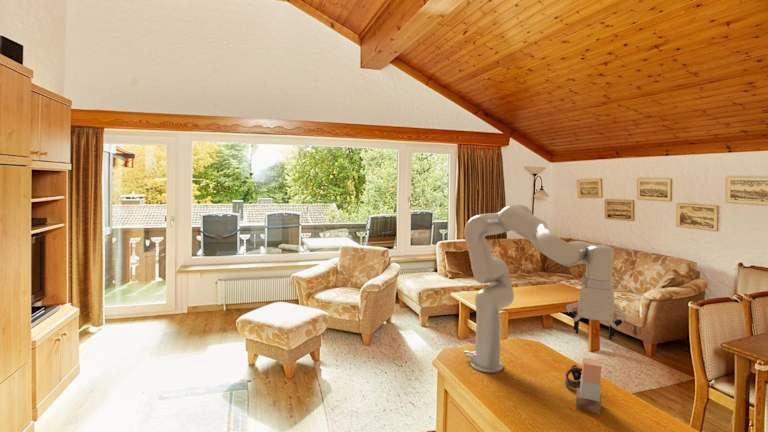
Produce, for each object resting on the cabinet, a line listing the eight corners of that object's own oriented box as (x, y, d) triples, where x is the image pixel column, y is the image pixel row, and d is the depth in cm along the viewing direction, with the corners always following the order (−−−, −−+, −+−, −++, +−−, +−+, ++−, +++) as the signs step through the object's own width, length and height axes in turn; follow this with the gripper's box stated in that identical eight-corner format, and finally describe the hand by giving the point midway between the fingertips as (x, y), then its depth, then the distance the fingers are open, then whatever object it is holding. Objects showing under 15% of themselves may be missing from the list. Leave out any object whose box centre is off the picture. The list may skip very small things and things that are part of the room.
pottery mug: (601, 396, 145) (594, 378, 142) (574, 404, 146) (567, 387, 144) (587, 372, 156) (580, 355, 153) (562, 380, 158) (555, 364, 155)
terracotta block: (582, 381, 134) (584, 363, 134) (581, 374, 139) (583, 357, 139) (600, 384, 133) (601, 366, 132) (598, 377, 137) (599, 360, 137)
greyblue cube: (580, 397, 135) (582, 381, 134) (579, 389, 140) (581, 374, 139) (599, 401, 133) (601, 385, 132) (598, 393, 138) (599, 377, 137)
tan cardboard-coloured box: (576, 409, 135) (576, 397, 135) (576, 399, 142) (576, 388, 141) (600, 415, 132) (601, 403, 132) (599, 404, 139) (600, 393, 138)
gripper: (567, 282, 133) (563, 333, 135) (630, 290, 126) (624, 345, 128) (568, 277, 140) (564, 326, 142) (627, 285, 133) (622, 336, 134)
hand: (593, 335), depth 135 cm, fingers open, 9 cm apart
